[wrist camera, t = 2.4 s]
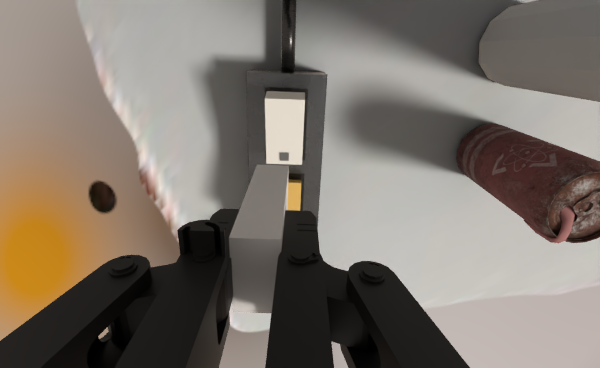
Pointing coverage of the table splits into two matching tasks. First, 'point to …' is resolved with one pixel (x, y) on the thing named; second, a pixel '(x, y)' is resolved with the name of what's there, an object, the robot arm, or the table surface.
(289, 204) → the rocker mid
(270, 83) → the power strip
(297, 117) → the rocker
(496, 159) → the can
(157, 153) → the table surface
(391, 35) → the table surface
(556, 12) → the water bottle
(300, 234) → the robot arm
